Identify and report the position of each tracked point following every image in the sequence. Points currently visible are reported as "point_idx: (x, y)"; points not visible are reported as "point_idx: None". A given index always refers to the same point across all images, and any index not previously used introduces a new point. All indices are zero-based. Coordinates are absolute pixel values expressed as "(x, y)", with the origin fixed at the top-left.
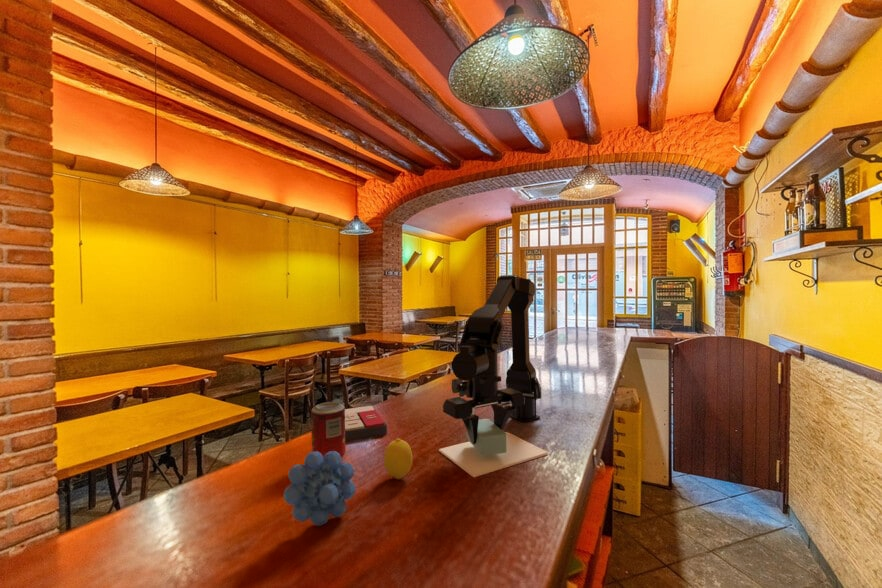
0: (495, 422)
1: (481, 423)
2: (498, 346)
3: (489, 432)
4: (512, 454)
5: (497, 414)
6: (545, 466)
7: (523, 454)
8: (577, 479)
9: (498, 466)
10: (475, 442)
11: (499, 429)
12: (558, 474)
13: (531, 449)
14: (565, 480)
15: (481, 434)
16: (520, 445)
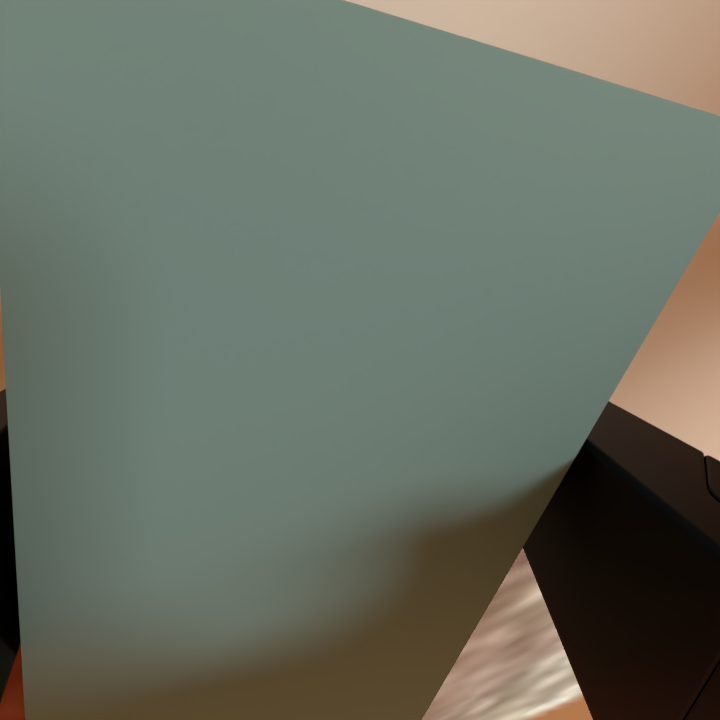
0: (591, 509)
1: (344, 364)
2: None
3: (220, 695)
4: None
5: (717, 707)
6: (541, 596)
7: None
8: (542, 709)
9: None
10: None
11: (431, 665)
12: (514, 665)
13: (696, 433)
14: (487, 703)
15: (54, 717)
16: (710, 332)
